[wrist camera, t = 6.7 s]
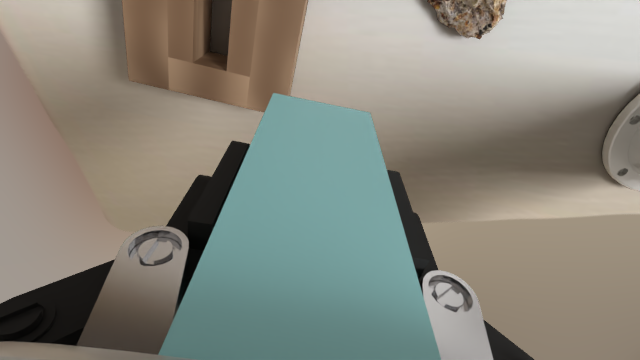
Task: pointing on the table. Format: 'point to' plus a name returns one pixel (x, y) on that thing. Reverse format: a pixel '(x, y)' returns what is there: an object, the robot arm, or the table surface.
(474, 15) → the mineral rock
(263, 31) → the bore board
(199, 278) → the square peg
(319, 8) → the table surface
